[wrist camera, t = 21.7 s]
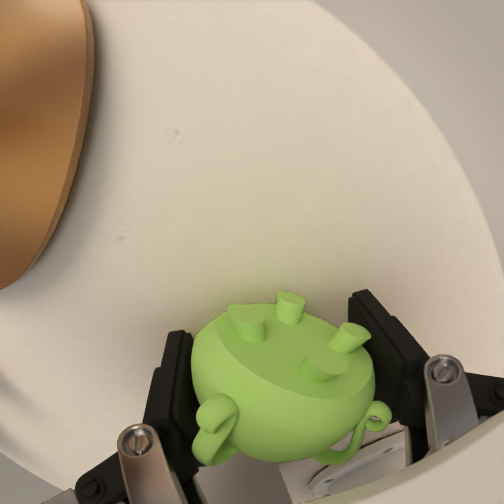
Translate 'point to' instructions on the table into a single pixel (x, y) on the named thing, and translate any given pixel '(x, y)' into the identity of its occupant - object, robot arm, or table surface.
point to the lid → (40, 121)
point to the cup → (243, 482)
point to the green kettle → (282, 385)
